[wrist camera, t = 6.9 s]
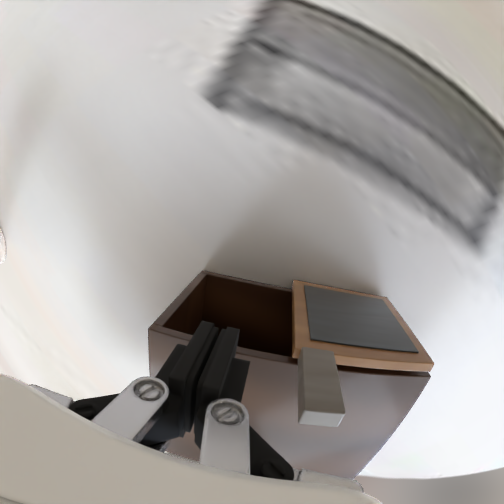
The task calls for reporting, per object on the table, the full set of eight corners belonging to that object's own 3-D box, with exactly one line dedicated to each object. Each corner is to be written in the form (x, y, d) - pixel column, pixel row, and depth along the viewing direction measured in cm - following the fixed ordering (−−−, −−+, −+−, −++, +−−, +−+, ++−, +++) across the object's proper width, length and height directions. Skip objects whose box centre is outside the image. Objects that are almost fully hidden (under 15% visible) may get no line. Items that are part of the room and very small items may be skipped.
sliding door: (293, 277, 21) (296, 408, 8) (387, 295, 21) (466, 409, 8) (291, 287, 22) (289, 423, 8) (383, 305, 21) (456, 422, 8)
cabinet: (202, 270, 23) (147, 328, 13) (385, 305, 22) (431, 376, 12) (192, 376, 26) (156, 448, 16) (341, 404, 25) (352, 479, 15)
